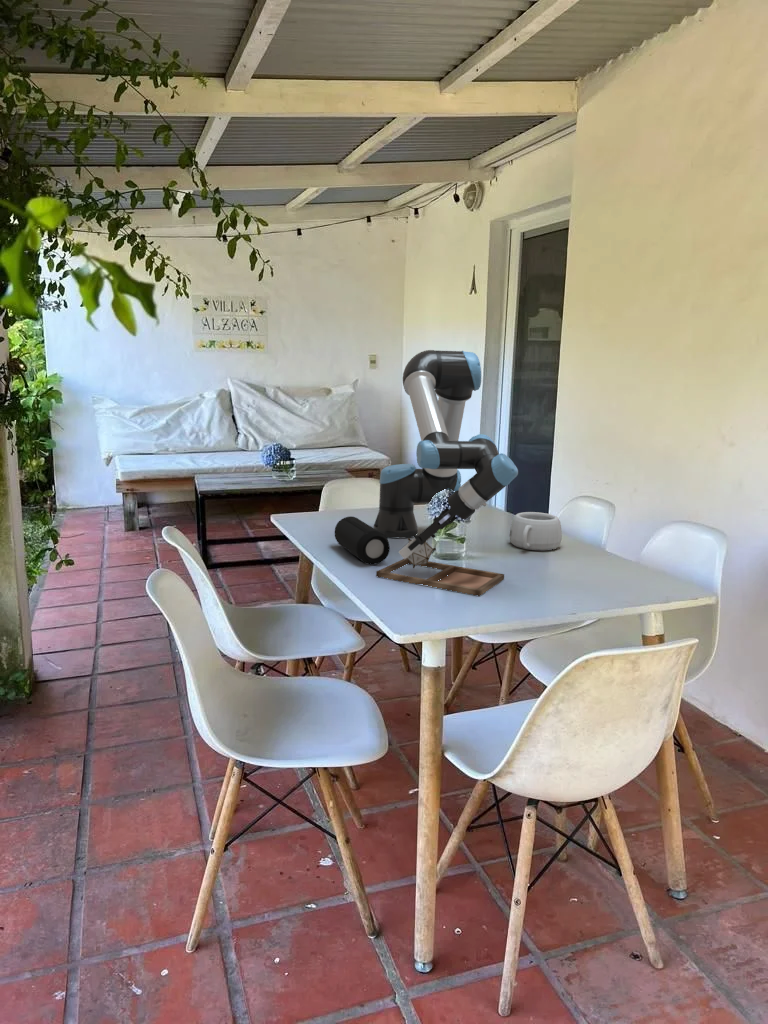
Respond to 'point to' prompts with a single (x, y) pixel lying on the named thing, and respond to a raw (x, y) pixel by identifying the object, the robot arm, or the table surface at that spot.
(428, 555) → the game die
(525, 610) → the table surface
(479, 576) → the dice tray
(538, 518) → the mug
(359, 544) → the portable speaker
